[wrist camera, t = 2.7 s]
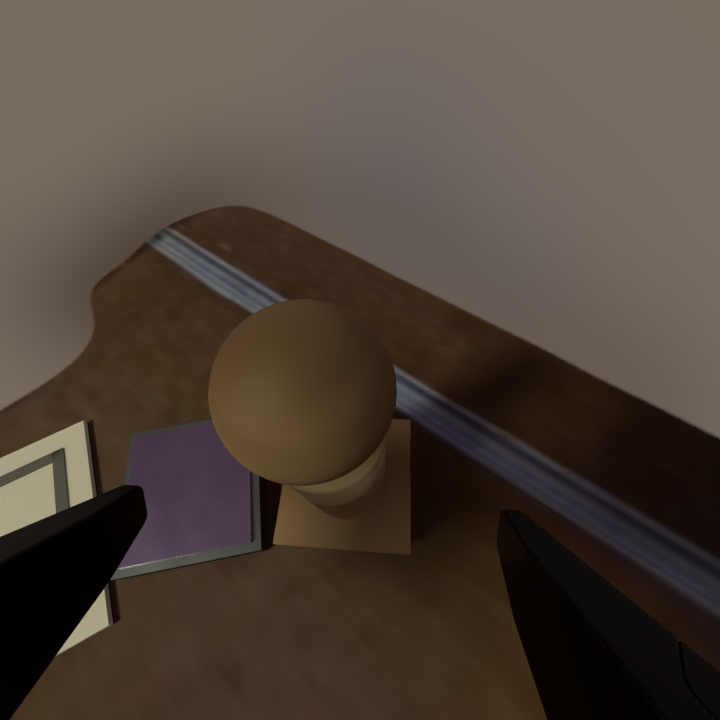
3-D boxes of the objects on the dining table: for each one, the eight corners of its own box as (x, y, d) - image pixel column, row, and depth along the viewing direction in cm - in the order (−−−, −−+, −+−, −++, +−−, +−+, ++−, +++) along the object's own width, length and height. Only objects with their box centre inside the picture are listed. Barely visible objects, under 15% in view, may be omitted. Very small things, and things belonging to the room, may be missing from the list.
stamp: (406, 554, 16) (475, 549, 4) (290, 546, 17) (36, 517, 5) (406, 439, 19) (448, 225, 7) (307, 434, 20) (177, 225, 7)
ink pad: (267, 550, 17) (259, 549, 16) (122, 579, 17) (105, 581, 16) (262, 416, 20) (255, 408, 19) (142, 438, 20) (129, 432, 19)
